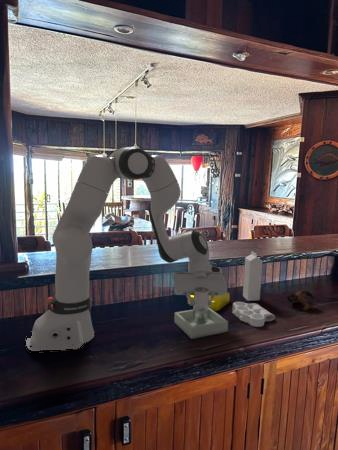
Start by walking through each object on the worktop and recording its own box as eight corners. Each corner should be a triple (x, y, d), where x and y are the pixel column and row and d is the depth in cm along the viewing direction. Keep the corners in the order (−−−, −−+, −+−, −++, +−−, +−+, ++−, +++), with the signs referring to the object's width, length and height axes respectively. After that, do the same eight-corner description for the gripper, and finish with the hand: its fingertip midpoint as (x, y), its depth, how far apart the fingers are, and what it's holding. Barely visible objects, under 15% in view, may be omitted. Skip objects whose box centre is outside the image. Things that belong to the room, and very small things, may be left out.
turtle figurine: (304, 302, 154) (313, 290, 150) (310, 318, 147) (320, 306, 142) (280, 296, 153) (289, 284, 148) (285, 312, 145) (294, 300, 141)
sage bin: (191, 338, 116) (191, 328, 116) (174, 322, 129) (174, 312, 128) (227, 331, 122) (228, 321, 122) (207, 316, 135) (208, 307, 134)
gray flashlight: (197, 325, 122) (198, 291, 120) (190, 318, 127) (191, 286, 125) (210, 322, 124) (211, 289, 122) (202, 316, 129) (204, 284, 127)
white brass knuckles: (279, 324, 130) (247, 329, 126) (254, 307, 147) (224, 310, 142) (280, 316, 130) (247, 321, 125) (254, 299, 147) (224, 303, 142)
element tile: (185, 304, 148) (186, 294, 148) (201, 294, 161) (202, 285, 160) (216, 312, 140) (216, 301, 139) (230, 301, 152) (231, 291, 152)
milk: (254, 295, 160) (257, 250, 156) (259, 300, 154) (263, 253, 151) (242, 296, 159) (245, 250, 155) (247, 300, 153) (250, 254, 150)
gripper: (173, 267, 129) (173, 301, 121) (226, 268, 129) (229, 302, 121) (172, 275, 134) (172, 308, 126) (223, 276, 135) (226, 309, 126)
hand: (201, 305), depth 124 cm, fingers closed on gray flashlight, 5 cm apart
